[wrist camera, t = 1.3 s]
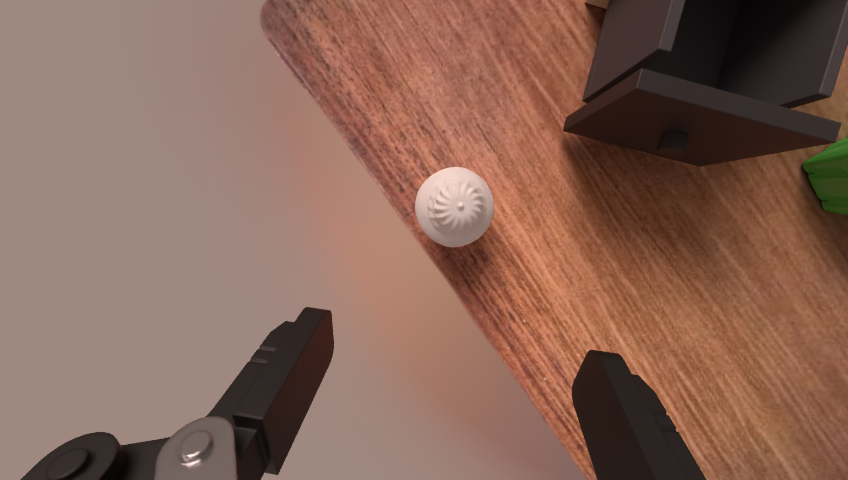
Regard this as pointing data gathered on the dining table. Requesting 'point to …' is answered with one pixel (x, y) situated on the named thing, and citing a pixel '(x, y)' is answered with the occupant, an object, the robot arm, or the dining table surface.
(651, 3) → the pulled-out nightstand drawer
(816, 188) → the fruit basket
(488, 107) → the dining table surface
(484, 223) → the muffin
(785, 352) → the dining table surface
